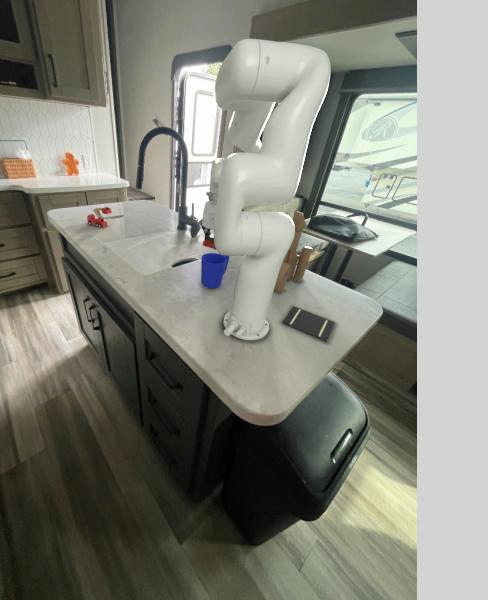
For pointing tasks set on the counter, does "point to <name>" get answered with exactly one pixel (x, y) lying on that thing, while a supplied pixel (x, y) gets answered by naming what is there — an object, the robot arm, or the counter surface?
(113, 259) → the counter surface
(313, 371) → the counter surface
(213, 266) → the mug
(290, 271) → the wooden toy
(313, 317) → the mat
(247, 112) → the robot arm
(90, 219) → the toy fire truck
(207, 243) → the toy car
